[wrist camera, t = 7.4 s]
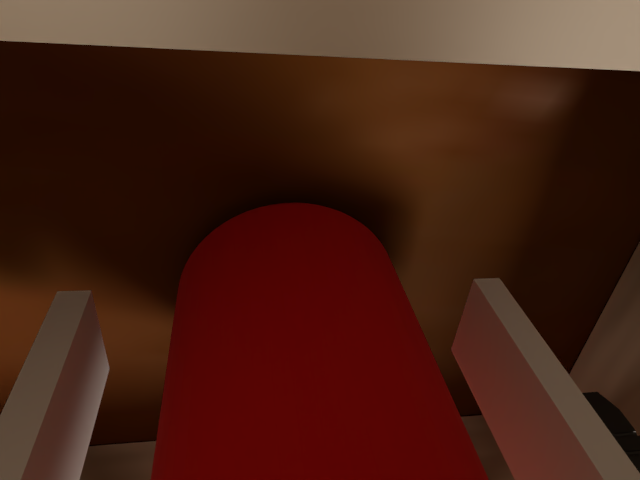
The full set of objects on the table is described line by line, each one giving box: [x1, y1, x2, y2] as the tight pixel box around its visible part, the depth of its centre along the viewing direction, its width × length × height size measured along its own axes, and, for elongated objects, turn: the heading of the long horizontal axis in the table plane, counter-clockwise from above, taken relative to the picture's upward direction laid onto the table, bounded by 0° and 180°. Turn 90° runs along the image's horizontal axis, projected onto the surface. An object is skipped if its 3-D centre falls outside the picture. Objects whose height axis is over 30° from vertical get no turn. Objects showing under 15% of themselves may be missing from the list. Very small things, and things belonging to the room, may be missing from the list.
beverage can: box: [151, 203, 489, 480], centre depth 10 cm, size 6×6×12 cm
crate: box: [0, 0, 640, 480], centre depth 12 cm, size 26×18×6 cm
